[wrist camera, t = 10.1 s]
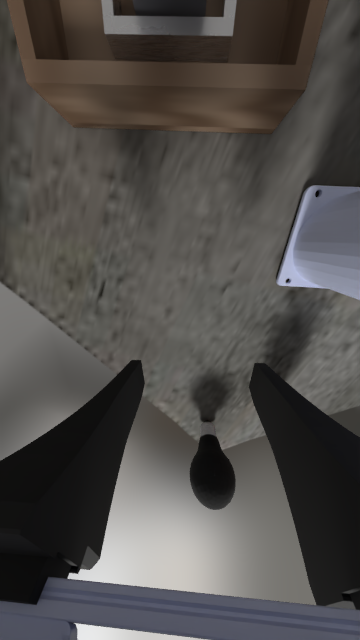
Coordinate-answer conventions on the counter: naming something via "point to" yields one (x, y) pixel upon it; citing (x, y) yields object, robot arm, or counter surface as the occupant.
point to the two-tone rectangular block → (170, 8)
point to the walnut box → (169, 68)
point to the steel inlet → (168, 35)
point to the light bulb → (211, 471)
